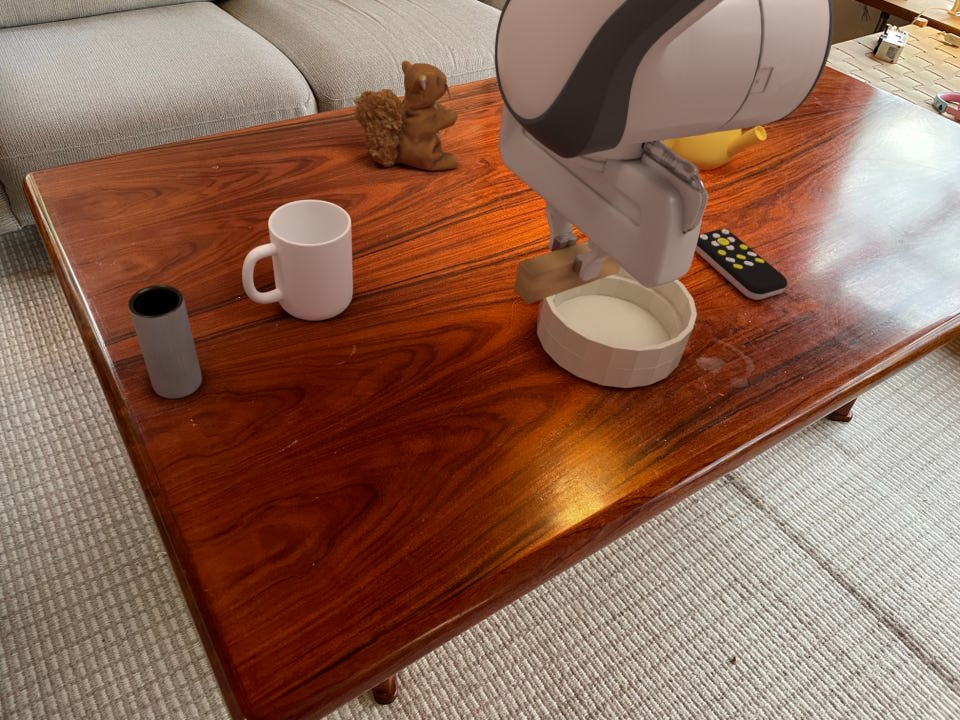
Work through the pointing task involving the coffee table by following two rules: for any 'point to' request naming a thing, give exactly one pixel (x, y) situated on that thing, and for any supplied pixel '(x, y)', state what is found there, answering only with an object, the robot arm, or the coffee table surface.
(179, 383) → the grey hollow cylinder
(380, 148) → the stuffed squirrel
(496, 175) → the coffee table surface
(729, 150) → the teapot
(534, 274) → the tan wooden bar
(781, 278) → the remote control
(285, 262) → the cup
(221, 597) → the coffee table surface
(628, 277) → the bowl
